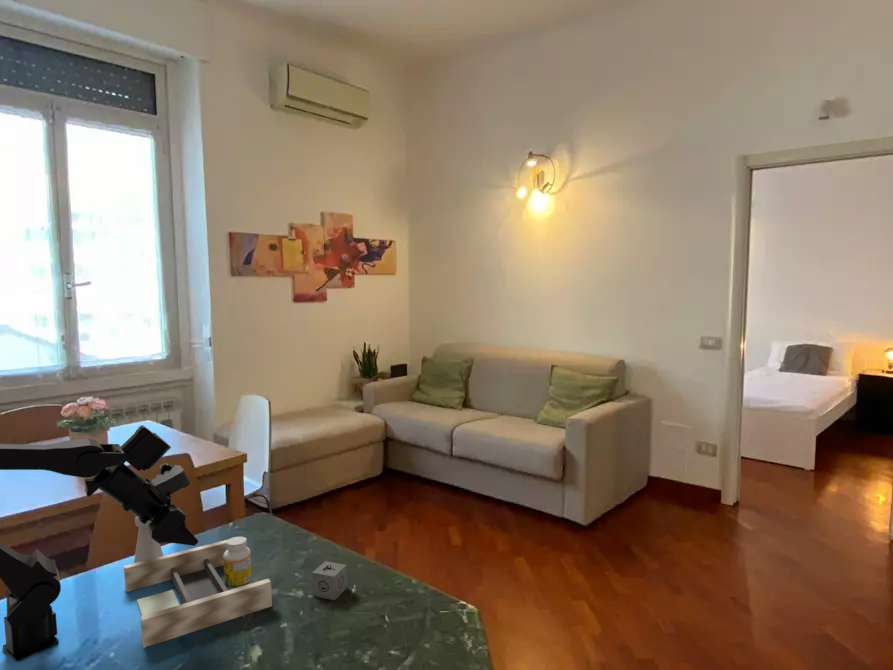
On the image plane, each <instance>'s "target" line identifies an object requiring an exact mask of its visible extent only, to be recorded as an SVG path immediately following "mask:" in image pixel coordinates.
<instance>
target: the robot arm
mask: <svg viewBox="0 0 893 670" xmlns="http://www.w3.org/2000/svg"><path fill="white" fill-rule="evenodd" d="M171 449H172V446H171V445H170V444H169V443H167V442H166V441H165V440H164V439H163V438H161V436H159V435H158V434H157V433H156V432H153V431H151V430H150V429H148V427H146V426H145V425H143V424H142V425H140V426H139V427H138V428H137V429H136V430H135V431H134V433H133V434H132V435H131V436H130V437H129V438H128V439H127V440H126V441H125V442H124V443H123V444H122V445H120V444H119V443H99V442H98V441H97V440H95V439H93V438H87V437H86V438H84V437H83V438H77V439H70V440H63V441H59V442H55V443H48V444H28V443H27V444H24V443H23V444H20V443H0V470H1V471H9V470H10V471H15V470H16V471H17V470H18V471H20V470H21V471H30V470H31V471H49V472H53V473H57V474H60V475H64V476H70V477H75V478H76V477H78V478H84V479H83V481H84V493H85V495H86V497H91V496H93V495H94V494H95V493H96V492H97V490H100V491H101V492H103V493H104V494H105V495H107V496H108V497H110V498H111V499H112V500H114V501H115V502H116V503H118V504H119V505H120V506H121V507H122V509H123V510H124V511H125V512H130V513H132V514H133V515H134V516H135V517H136V516H137V517H138V518H139V520H140V521H141V522H142V523H143V524H145V523H146V522H147V521H148V520H149V521H152V522H151V523H150V524H149V525H148V533H149V534H150V536H151V538H152V539H153V540H155V541H156V542H158V543H159V544H160V545H161V544H164V543H170V544H177V545H185V546H193V547H195V546H196V545H197V544H199V540H198V539H197V537H196V536H195V535H194V534H193V533H192V531H191V530H190V529H189V528H188V526H187V524H186V519H187V516H186V514H185V512H184V511H183V510H182V509H181V508H179V507H178V506H177V505H176V504H172V501H171V500H172V497H171V495H172V494H174V493H177V492H178V491H179V490H181V489H183V488H187V487H188V486H190V484H191V481H190V479H189V477H188V475H187V473H186V471H185V469H184V468H183V467H182V466H181V465H177V464H174V466H172V465H171V464H169V463H168V462H165V463H163V464H161V465H159V467H158V474H156V477H154V478H152V479H149V478H148V477H147V476H145V477H144V476H140V475H139V474H138V473H136V472H135V470H133V469H131V468H130V467H129V466H127V465H126V464H125V463H127V464H129V465H130V466H131V467H133V468H134V469H136V471H138V472H141V471H144V472H145V471H146V470H147V471H150V470H151V468H152V467H153V466H155V464H156V463H157V462H158V461H159V460H161V459H162V458H163V457H164V456H165V454H167V453H168V452H169V450H171ZM0 580H1V581H2V583H3V584H4V585H5V586H6V588H7V589H8V590H9V593H8V594H7V595H6V616H4V617H3V623H4V634H5V635H4V636H5V644H3V645H2V650H3V651H4V652H5V653H6V654H8V655H9V656H10V657H11V658H12V659H13V660H14V661H15V662H19V661H22V660H25V659H26V658H28V657H30V656H33V655H35V654H37V653H39V652H41V651H44V650H45V649H48V648H50V647H53V646H55V645H57V644H58V643H60V639H59V638H57V637H56V636H57V635H58V626H57V625H58V624H57V614H56V612H54V611H53V606H52V605H51V604H52V603H54V602H55V601H56V600H57V599H58V598H59V596H60V593H61V587H62V585H61V584H62V583H61V579H60V574H59V570H58V568H57V565H56V560H55V559H53V558H49V557H46V556H45V555H44V553H42V551H40V550H39V549H38V548H37V549H34V550H33V552H32V553H31V555H30V554H23V553H20V552H17V551H16V550H15V549H13V548H12V547H10V546H8V545H7V544H5V543H4V542H2V541H1V540H0Z"/></svg>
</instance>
